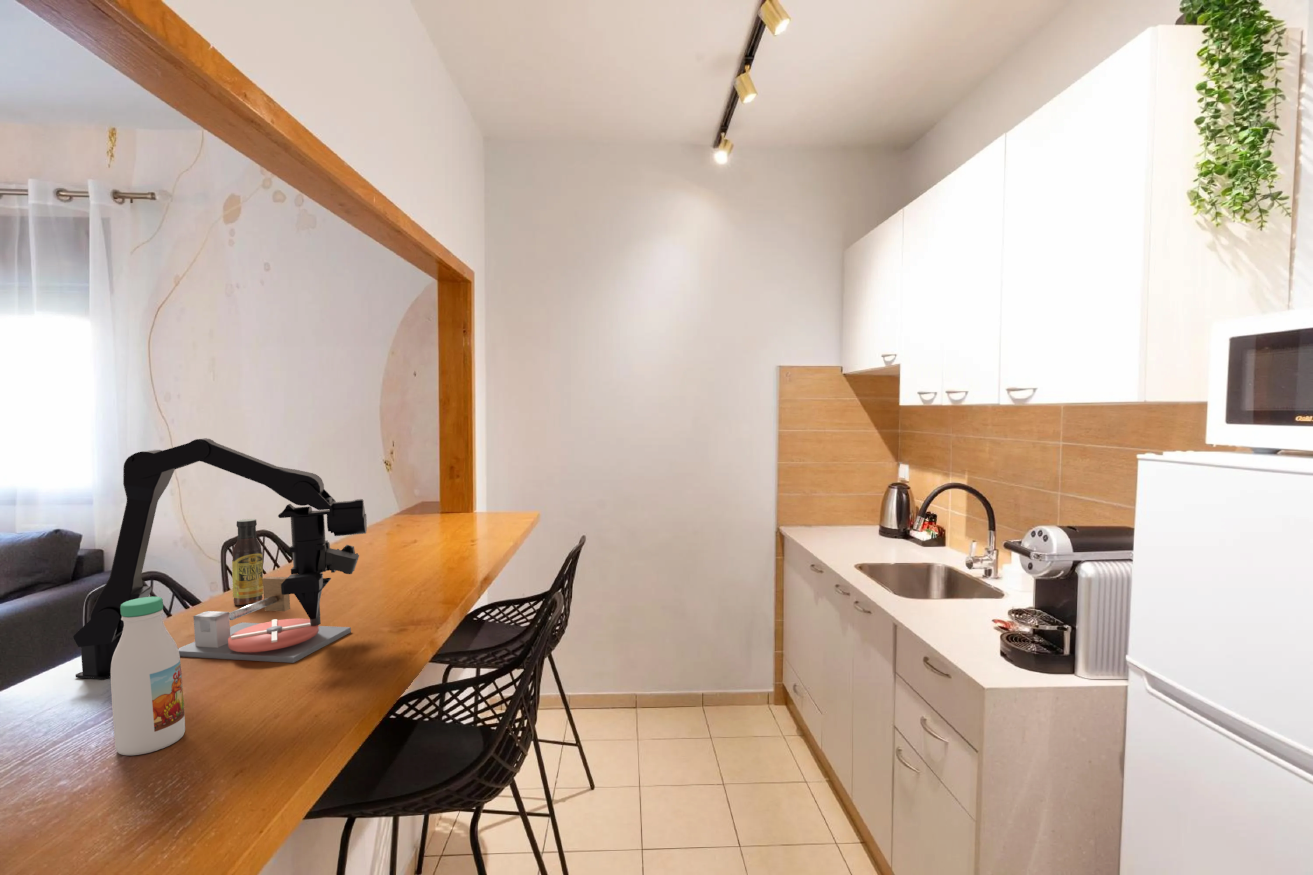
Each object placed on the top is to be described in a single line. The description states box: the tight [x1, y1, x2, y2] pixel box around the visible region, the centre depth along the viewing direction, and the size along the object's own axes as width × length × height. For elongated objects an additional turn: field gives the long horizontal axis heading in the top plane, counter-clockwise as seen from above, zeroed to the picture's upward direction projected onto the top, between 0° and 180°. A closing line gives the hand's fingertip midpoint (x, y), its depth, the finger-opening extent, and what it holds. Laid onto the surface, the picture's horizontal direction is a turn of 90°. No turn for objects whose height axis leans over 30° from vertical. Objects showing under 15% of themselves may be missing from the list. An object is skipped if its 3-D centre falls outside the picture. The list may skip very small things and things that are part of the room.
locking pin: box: [229, 576, 291, 621], centre depth 137 cm, size 13×5×7 cm, turn 169°
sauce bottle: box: [231, 518, 264, 606], centre depth 157 cm, size 7×6×20 cm
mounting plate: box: [178, 610, 352, 664], centre depth 129 cm, size 16×26×7 cm, turn 79°
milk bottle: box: [110, 596, 186, 756], centre depth 91 cm, size 8×8×20 cm
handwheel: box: [228, 602, 321, 652], centre depth 126 cm, size 15×15×6 cm
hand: (313, 618), depth 127 cm, fingers closed
